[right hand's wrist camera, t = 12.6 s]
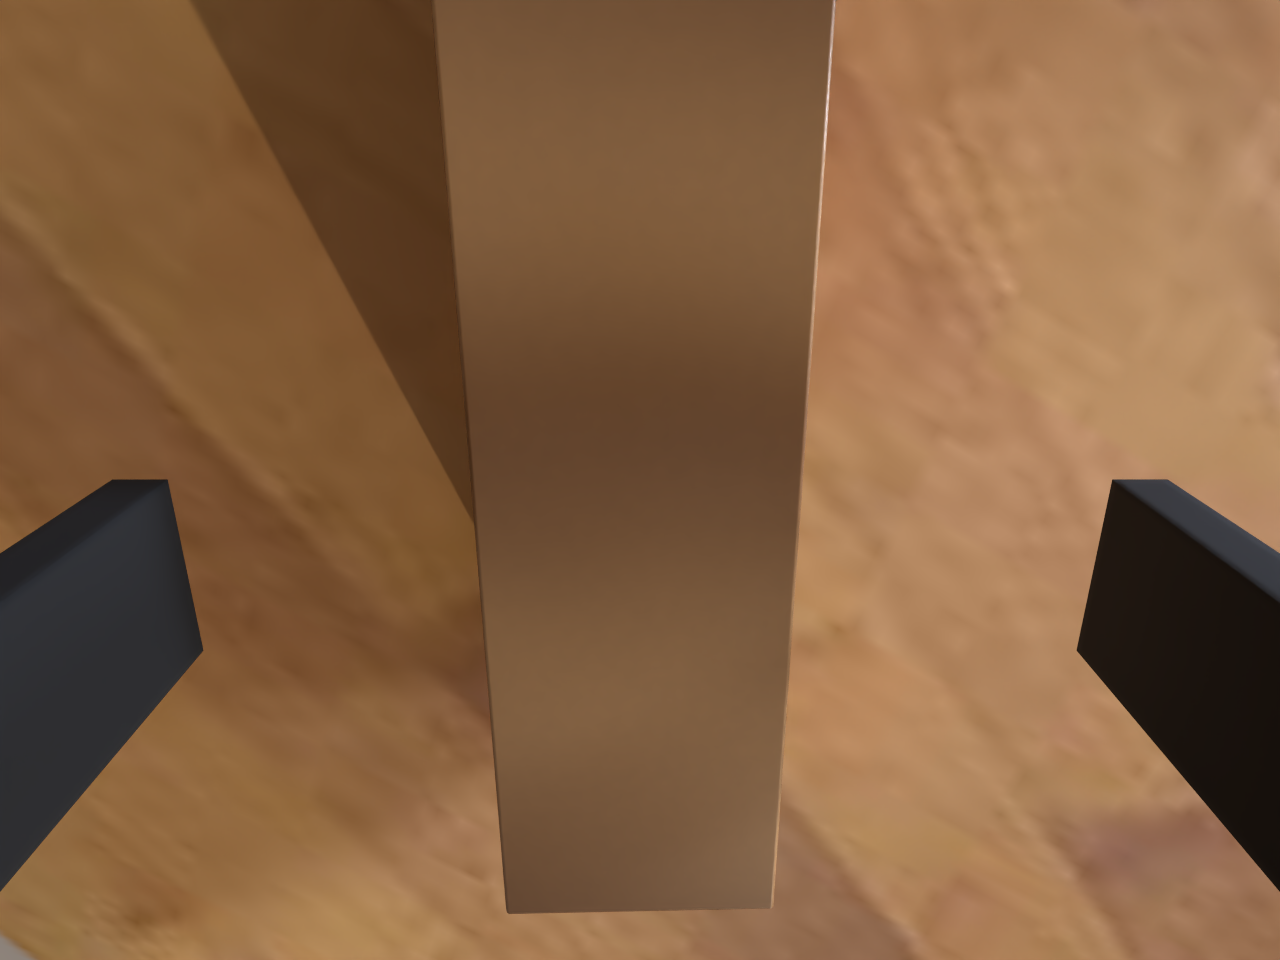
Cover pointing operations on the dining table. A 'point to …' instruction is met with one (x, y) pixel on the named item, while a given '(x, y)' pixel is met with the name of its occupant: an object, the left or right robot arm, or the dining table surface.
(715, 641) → the post
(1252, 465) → the dining table surface
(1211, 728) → the right robot arm
